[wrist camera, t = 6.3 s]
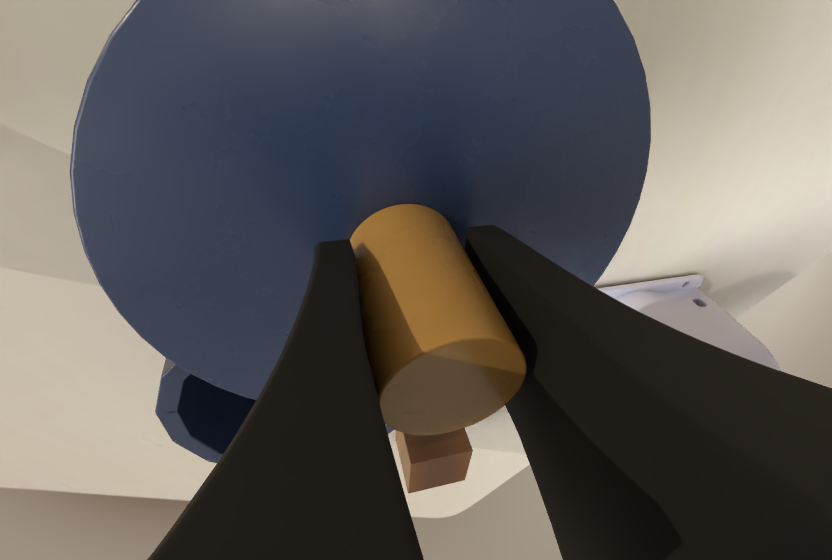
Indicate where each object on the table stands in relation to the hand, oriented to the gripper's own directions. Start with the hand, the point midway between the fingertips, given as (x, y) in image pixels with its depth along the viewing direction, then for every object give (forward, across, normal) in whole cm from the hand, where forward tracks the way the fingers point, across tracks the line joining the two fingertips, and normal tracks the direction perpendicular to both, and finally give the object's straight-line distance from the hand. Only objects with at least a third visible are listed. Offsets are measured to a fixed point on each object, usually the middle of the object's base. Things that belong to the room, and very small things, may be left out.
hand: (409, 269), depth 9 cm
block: (+10, -4, +24) cm, 26 cm away
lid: (+1, 0, 0) cm, 1 cm away
